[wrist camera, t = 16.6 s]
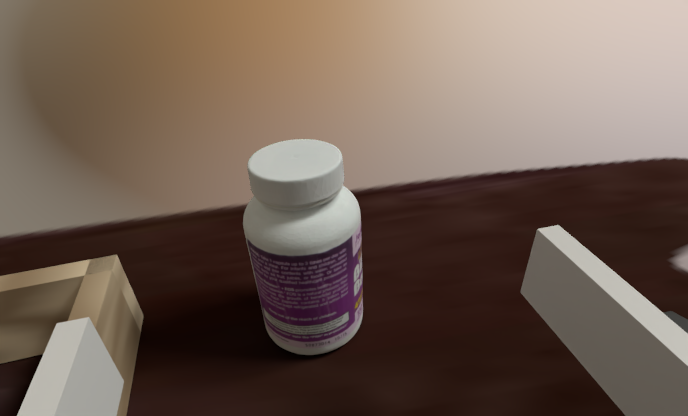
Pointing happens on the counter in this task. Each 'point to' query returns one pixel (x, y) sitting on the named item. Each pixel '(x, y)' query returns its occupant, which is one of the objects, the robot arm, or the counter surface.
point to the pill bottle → (305, 245)
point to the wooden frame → (72, 311)
